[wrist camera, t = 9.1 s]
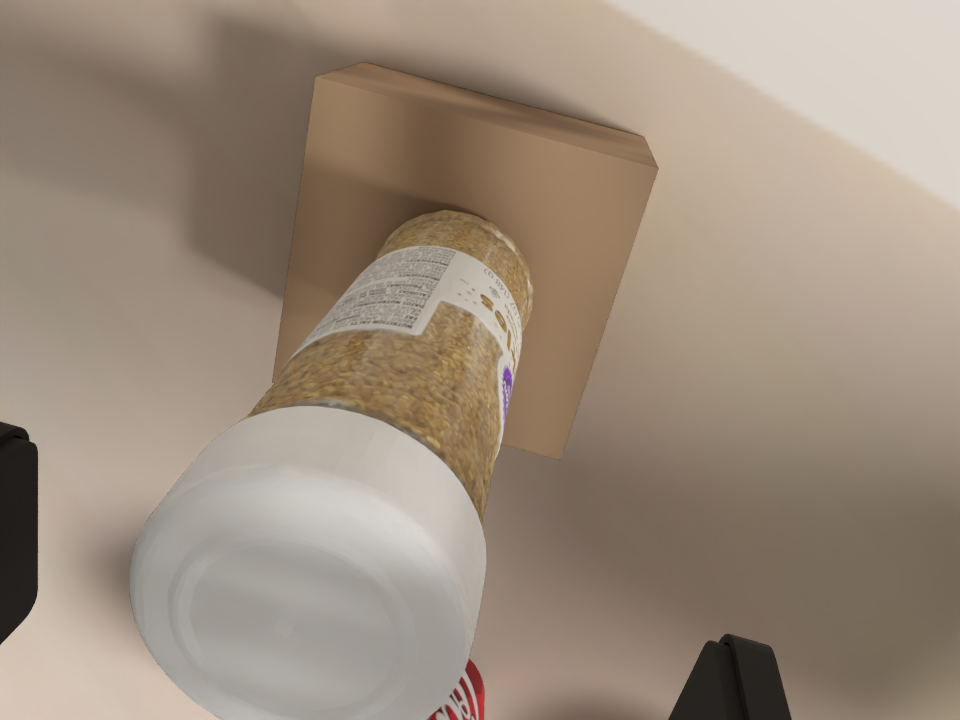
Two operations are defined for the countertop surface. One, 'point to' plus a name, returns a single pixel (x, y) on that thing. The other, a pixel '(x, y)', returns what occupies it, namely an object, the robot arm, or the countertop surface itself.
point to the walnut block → (477, 191)
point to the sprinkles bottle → (348, 498)
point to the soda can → (464, 698)
